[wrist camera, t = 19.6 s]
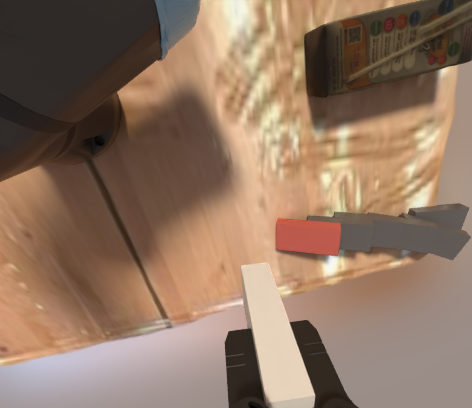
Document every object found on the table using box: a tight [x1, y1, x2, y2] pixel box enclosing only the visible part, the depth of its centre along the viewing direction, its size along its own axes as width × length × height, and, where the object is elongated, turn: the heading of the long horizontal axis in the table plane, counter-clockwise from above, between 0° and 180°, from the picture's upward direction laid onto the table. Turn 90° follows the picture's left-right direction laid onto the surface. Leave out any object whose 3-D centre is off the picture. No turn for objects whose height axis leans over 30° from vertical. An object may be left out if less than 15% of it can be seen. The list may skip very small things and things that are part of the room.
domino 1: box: [307, 216, 374, 252], centre depth 42 cm, size 2×5×10 cm
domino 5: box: [400, 213, 471, 260], centre depth 43 cm, size 2×5×10 cm
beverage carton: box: [305, 0, 472, 97], centre depth 31 cm, size 8×19×7 cm, turn 102°
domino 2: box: [334, 212, 403, 249], centre depth 42 cm, size 2×5×10 cm
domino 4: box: [408, 203, 469, 230], centre depth 45 cm, size 2×5×10 cm
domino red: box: [276, 218, 341, 256], centre depth 41 cm, size 2×5×10 cm
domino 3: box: [368, 212, 438, 254], centre depth 43 cm, size 2×5×10 cm
